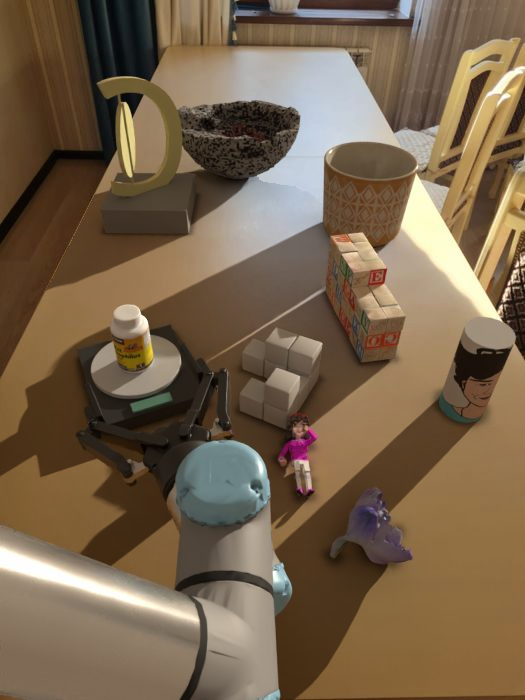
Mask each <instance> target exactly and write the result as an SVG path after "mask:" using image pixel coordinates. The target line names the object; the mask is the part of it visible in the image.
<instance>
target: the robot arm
mask: <svg viewBox="0 0 525 700" xmlns="http://www.w3.org/2000/svg"><path fill="white" fill-rule="evenodd" d="M180 349H181V352H182V356H183V359H184V361H185V362H186V364H187V365H188V367H189V369H190V370H191V372H192V374H193V375H194V377H195V379H196V380H197V382H198V383H199V388H198V390H197V393H196V395H195V398H194V400H193V403H192V405H191V408H190V409H188V411H186V413H185V416H184V418H183V420H179V419H176V420H173V421H172V422H170V423H169V424H167V425H164V426H161V427H158V428H156V429H154V432H153V433H148V432H145V431H141V430H140V431H138V432H137V431H134V430H132V429H129V430H128V429H124V428H121V427H117V426H114V425H110V424H107V423H106V421H105V419H104V416H103V414H102V411H101V409H100V406H99V404H98V401H97V399H96V396H95V394H94V392H93V390H92V388H91V385H90V383H89V382H88V383H83V387H84V389H85V392H86V395H87V398H88V400H89V403H90V404H89V405H87V406H85V407H83V414H84V416H85V418H86V419H85V420H86V423H87V427H86V428H85V429H80V430H78V431H76V433H75V438H76V440H77V441H78V443H79V445H80V447H81V448H82V450H84V451H85V452H87V453H88V454H89V455H90V456H93V457H94V458H96V459H97V460H98V461H100V462H101V463H103V464H104V465H105V466H107V467H109V468H110V469H111V470H112V471H115V472H116V473H118V474H119V475H121V477H122V479H123V480H124V483H125V484H126V485H127V486H128V487H130V488H132V487H135V486H136V485H137V483H138V480H137V479H139V478H140V477H142V476H143V475H145V474H147V473H149V474H151V475H152V476H153V479H154V480H155V482H156V484H157V487H158V489H159V492H160V494H161V496H162V498H163V500H164V502H165V503H166V507H167V509H168V511H169V513H170V517H171V518H172V521H173V523H174V526H175V528H176V530H177V532H178V535H179V536H178V548H177V558H176V570H175V581H174V589H173V588H170V587H167V586H165V585H162V584H159V583H158V582H154V581H152V580H149V579H146V578H144V577H141V576H139V575H136V574H134V573H131V572H128V571H125V570H123V569H120V568H117V567H115V566H112V565H110V564H107V563H104V562H102V561H99V560H96V559H94V558H91V557H88V556H86V555H82V554H80V553H78V552H75V551H72V550H70V549H67V548H65V547H62V546H59V545H57V544H55V543H51V542H49V541H46V540H43V539H41V538H38V537H35V536H33V535H31V534H28V533H25V532H22V531H19V530H17V529H14V528H12V527H9V526H7V525H4V524H1V523H0V695H1V696H6V697H12V698H15V699H22V700H280V699H281V691H280V690H281V689H279V687H280V686H279V672H278V671H279V669H278V655H277V636H276V617H277V616H278V615H279V614H280V613H281V612H282V611H283V610H284V609H285V608H286V607H287V605H288V604H289V602H290V600H291V598H292V595H293V586H292V583H291V581H290V578H289V577H288V575H287V573H286V571H285V565H284V563H283V562H281V561H280V559H279V558H278V556H277V554H276V552H275V550H274V547H273V543H274V542H273V532H272V520H271V519H272V518H271V516H272V515H271V496H272V495H271V486H272V484H271V482H270V479H269V478H268V471H267V467H266V464H265V462H264V460H263V458H262V457H261V455H260V454H259V453H258V452H257V451H256V450H255V449H253V448H252V447H250V445H247V444H245V443H243V442H240V441H237V440H233V438H234V437H235V436H234V430H233V425H232V421H231V419H230V411H231V409H230V407H231V406H230V405H231V381H230V380H231V379H230V375H229V370H228V368H226V367H221V368H220V369H219V370H218V371H213V370H211V368H210V366H209V365H208V363H207V362H206V361H205V359H204V358H202V357H199V358H197V359H196V358H195V357H194V356H193V354H192V352H191V351H190V349H189V347H188V346H187V344H186V343H185V342H182V343H180ZM215 391H217V394H216V395H217V397H216V416H217V417H216V418H215V419H214V421H213V423H212V428H211V429H209V428H207V427H204V426H203V423H204V420H205V417H206V415H207V411H208V409H209V407H210V404H211V401H212V398H213V396H214V393H215ZM221 438H224V439H221ZM219 439H221V440H219ZM105 443H106V444H105ZM107 444H110V445H112V446H116V447H120V448H122V449H126V450H129V451H132V452H136V453H138V454H140V455H141V456H142V461H141V462H137V461H135V460H133V459H131V458H128V459H127V458H125V456H123V455H122V454H121V453H119V452H118V451H116V450H115V449H113V448H112V447H110V446H109V445H107Z"/></svg>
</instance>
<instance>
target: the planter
mask: <svg viewBox="0 0 525 700" xmlns="http://www.w3.org/2000/svg"><path fill="white" fill-rule="evenodd" d="M418 168H419V162H418V159H417V158H416V157H415V155H413V154H412V153H411V152H409V151H408V150H406V149H403V148H401V147H398V146H395V145H392V144H388V143H385V142H384V143H383V142H377V141H351V142H344V143H340V144H338V145H335V146H333V147H330V148H329V149H328V150H327V151H326V152H325V154H324V156H323V191H322V192H323V196H322V197H323V198H322V199H323V200H322V201H323V202H322V225H323V228H324V230H325V231H326V233H327V234H328V236H329V237H330V236H335V235H343V234H346V235H347V234H353V233H363V234H364V235H365V237H366V238H367V240H368V242H369V243H370V245H371V246H372V248H375V247H380V246H384V245H387V244H389V243H390V242H391V241H393V240H394V239H395V238H396V237H397V236H398V234H399V233H400V230H401V227H402V223H403V221H404V217H405V213H406V210H407V206H408V203H409V200H410V196H411V194H412V190H413V186H414V182H415V179H416V175H417V172H418Z"/></svg>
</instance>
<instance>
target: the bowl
mask: <svg viewBox="0 0 525 700" xmlns="http://www.w3.org/2000/svg"><path fill="white" fill-rule="evenodd" d="M177 111H178V114H179V117H180V121H181V128H182V149H184V150H185V151H184V152H186V154H188V156H189V157H190V158H191V159H192V160H193V161H194V162H195V164H197V165H198V166H200V167H201V168H203V169H204V170H205V171H207V172H210V173H212V174H215V175H217V176H220V177H223V178H228V179H236V180H241V179H243V180H244V179H249V178H254V177H256V176H259V175H261V174H263V173H266V172H268V171H269V170H271V169H273V168H275V166H276V165H277V164H279V163H280V162H281V161H282V160H283V159H284V158H285V157H287V154H288V153H289V152H290V150H291V149H292V146H293V145H294V143H295V142H296V140H297V137H298V134H299V131H300V128H301V114H300V112H299V110H297V109H296V108H295V107H293V106H289V107H287V106H283V105H279V104H276V103H274V102H273V103H272V102H269V101H265V100H257V99H254V100H251V101H247V100H236V101H232V102H222V103H221V102H219V103H214V104H200V105H197V106H193V107H191V106H187V105H183V106H180V107H179V108H177Z"/></svg>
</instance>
